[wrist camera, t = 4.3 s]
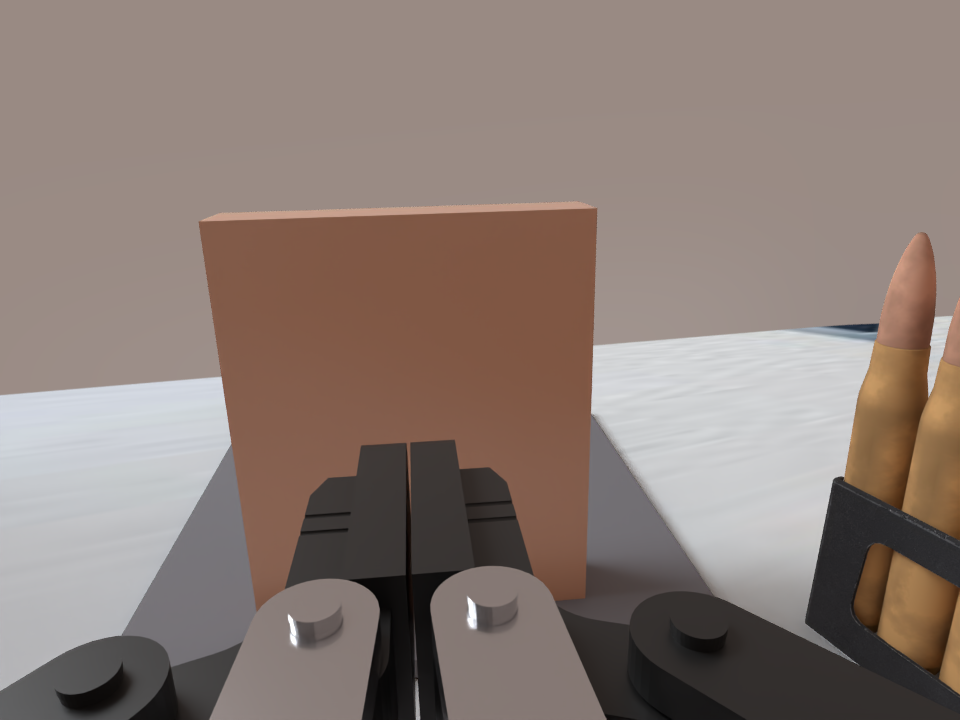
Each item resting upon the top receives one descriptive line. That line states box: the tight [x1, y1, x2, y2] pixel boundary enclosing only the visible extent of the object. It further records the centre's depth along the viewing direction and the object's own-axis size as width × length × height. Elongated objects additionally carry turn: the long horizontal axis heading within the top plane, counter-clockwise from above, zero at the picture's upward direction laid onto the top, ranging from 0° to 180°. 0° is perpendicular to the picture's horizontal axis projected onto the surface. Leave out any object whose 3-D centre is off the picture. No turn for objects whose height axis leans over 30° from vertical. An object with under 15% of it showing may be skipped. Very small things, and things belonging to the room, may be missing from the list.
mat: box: [122, 414, 713, 678], centre depth 28 cm, size 18×18×1 cm
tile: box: [199, 202, 597, 611], centre depth 20 cm, size 10×2×12 cm, turn 96°
